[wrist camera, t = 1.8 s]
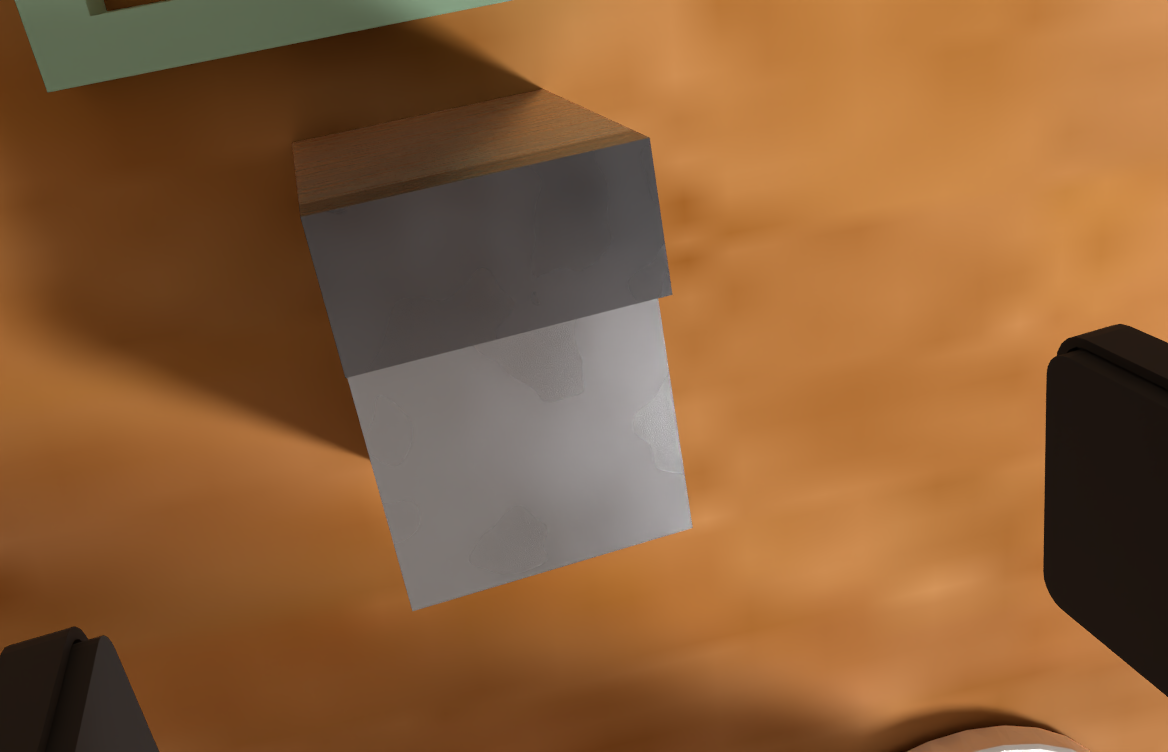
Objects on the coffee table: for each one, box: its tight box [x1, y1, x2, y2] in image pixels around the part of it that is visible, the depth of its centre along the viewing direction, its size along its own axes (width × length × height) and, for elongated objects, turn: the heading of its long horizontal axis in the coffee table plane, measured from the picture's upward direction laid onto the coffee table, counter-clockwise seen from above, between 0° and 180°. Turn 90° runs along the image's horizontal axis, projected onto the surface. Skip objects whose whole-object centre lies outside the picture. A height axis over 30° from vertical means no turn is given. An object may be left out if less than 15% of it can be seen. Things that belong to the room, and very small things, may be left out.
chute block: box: [292, 89, 692, 611], centre depth 19 cm, size 7×5×7 cm
